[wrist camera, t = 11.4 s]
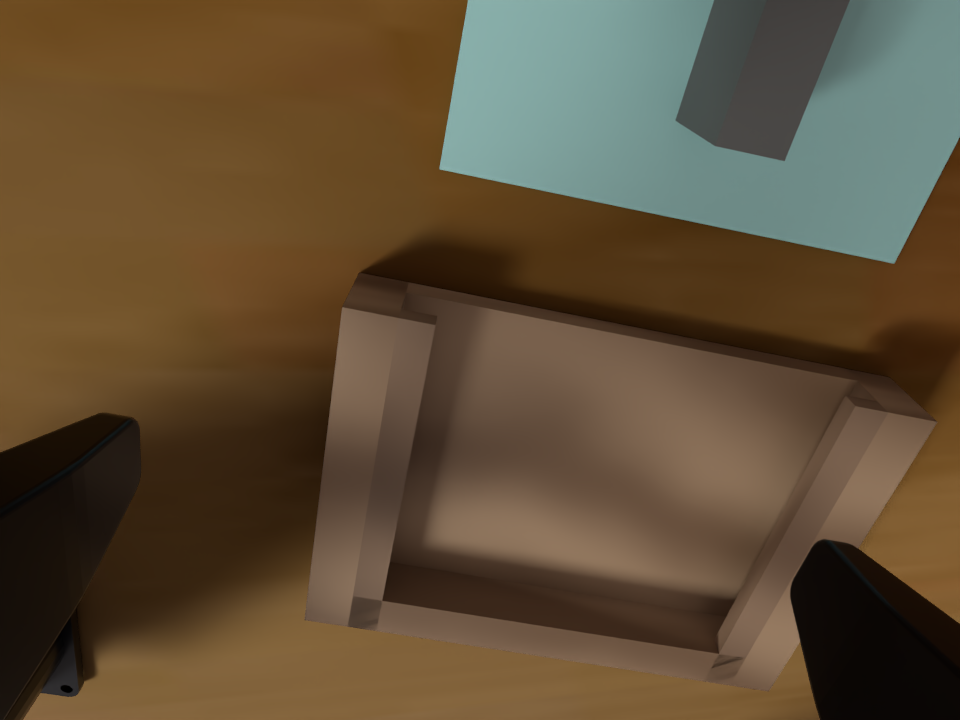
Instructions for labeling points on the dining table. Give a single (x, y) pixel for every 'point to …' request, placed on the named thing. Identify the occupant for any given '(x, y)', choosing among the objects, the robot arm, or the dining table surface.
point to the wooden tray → (588, 483)
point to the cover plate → (634, 159)
